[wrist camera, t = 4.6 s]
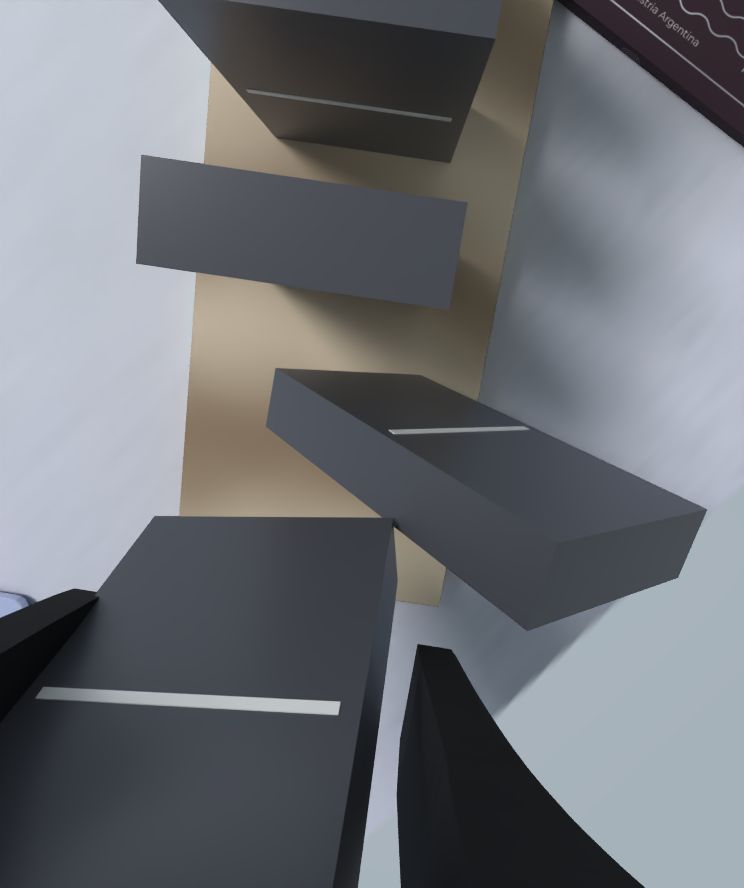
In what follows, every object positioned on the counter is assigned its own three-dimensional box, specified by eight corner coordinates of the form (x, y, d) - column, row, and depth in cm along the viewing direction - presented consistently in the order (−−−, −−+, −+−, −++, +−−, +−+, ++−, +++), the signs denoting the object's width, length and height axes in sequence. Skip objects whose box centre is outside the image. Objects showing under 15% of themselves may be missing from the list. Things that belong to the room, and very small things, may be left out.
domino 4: (397, 581, 13) (301, 1312, 5) (172, 577, 14) (-220, 1208, 6) (393, 516, 12) (270, 1255, 4) (154, 515, 13) (-326, 1144, 5)
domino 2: (428, 300, 18) (449, 311, 10) (262, 276, 19) (136, 265, 10) (437, 243, 18) (467, 201, 9) (268, 218, 18) (141, 153, 9)
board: (436, 592, 22) (438, 607, 21) (185, 553, 22) (175, 566, 21) (568, -111, 17) (578, -135, 16) (238, -156, 17) (228, -184, 16)
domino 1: (450, 163, 17) (495, 40, 9) (275, 138, 18) (148, -10, 9) (460, 100, 17) (518, -96, 8) (281, 74, 17) (155, -146, 8)
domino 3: (407, 424, 19) (677, 578, 13) (265, 427, 16) (527, 631, 10) (420, 374, 19) (707, 508, 12) (275, 366, 16) (558, 541, 9)
